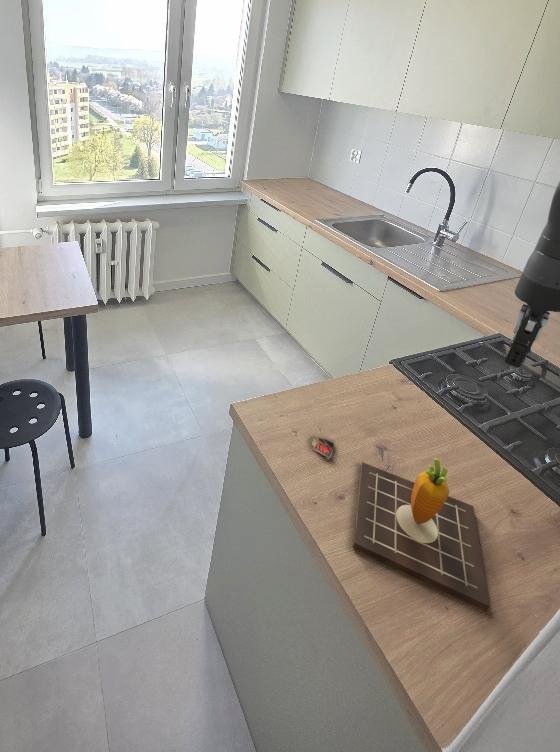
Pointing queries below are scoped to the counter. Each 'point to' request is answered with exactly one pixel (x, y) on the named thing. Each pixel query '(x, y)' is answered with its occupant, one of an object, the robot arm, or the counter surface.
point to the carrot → (429, 493)
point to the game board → (420, 537)
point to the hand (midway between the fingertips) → (515, 353)
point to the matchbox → (323, 446)
